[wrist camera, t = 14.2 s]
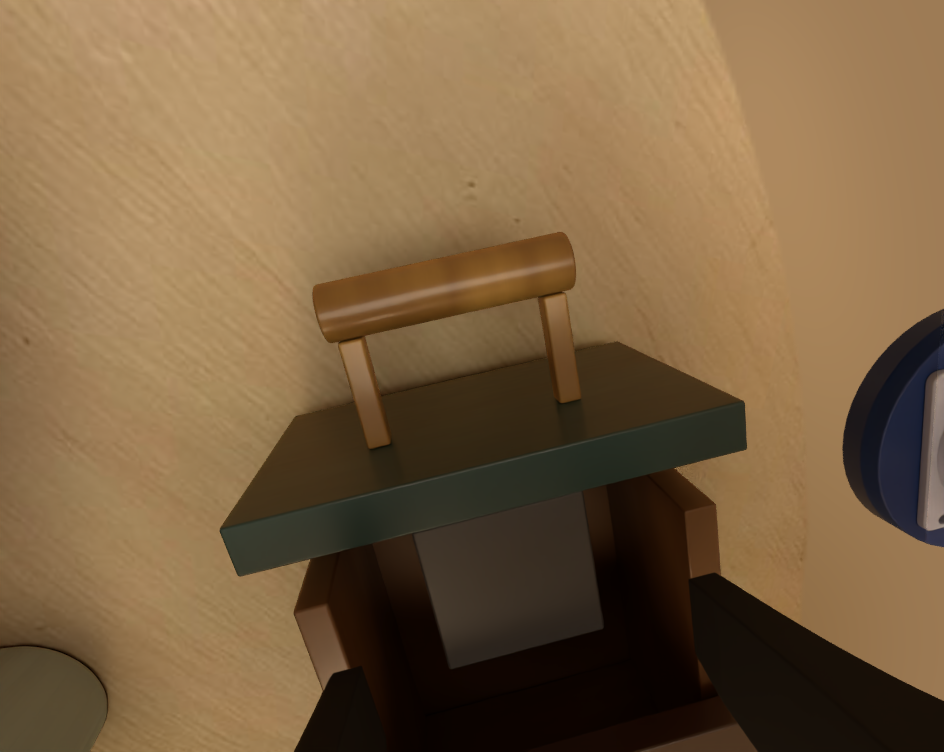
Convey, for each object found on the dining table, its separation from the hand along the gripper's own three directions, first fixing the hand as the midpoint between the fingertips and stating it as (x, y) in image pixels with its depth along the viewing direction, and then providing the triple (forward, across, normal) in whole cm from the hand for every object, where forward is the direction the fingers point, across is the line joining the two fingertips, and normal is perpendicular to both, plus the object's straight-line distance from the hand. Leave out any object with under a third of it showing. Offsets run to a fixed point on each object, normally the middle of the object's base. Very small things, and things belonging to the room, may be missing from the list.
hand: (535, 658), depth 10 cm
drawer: (+8, 0, 0) cm, 8 cm away
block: (+7, 0, 0) cm, 7 cm away
